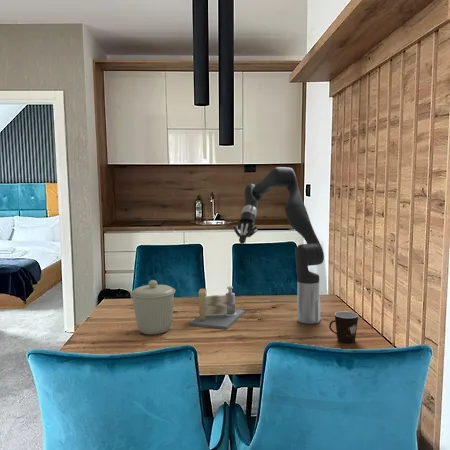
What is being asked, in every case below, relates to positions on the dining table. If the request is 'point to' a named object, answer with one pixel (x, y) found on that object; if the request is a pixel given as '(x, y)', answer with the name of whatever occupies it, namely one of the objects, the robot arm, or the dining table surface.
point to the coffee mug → (345, 326)
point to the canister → (153, 307)
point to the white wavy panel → (220, 304)
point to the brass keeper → (202, 304)
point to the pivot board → (218, 318)
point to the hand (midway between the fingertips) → (241, 242)
